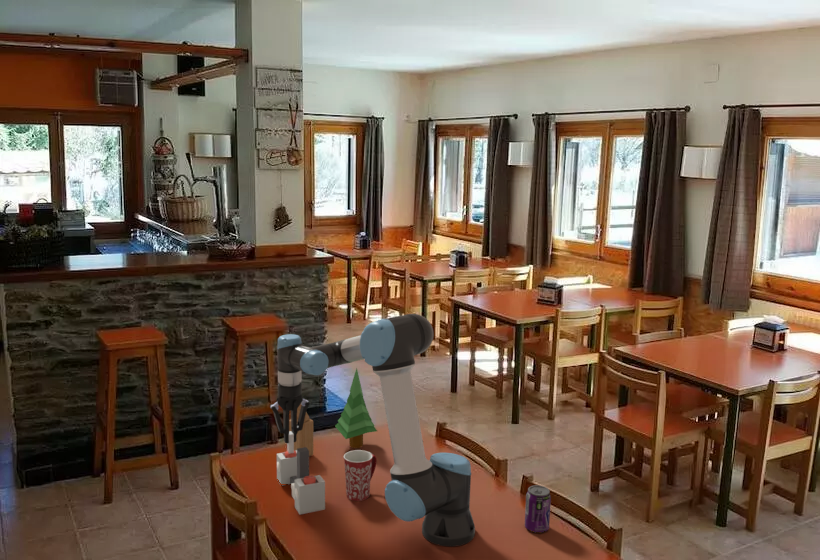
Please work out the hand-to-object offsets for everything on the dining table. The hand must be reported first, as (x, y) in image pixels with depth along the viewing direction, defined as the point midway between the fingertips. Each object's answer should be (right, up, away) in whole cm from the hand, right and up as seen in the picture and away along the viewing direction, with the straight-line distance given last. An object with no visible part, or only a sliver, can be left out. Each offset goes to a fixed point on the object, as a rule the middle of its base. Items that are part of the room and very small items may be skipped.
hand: (290, 451), depth 240 cm
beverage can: (+76, -17, -26) cm, 82 cm away
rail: (+4, -12, -7) cm, 14 cm away
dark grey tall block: (+6, -12, -10) cm, 17 cm away
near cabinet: (+9, -13, -16) cm, 23 cm away
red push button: (0, -3, +1) cm, 3 cm away
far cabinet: (0, -10, +2) cm, 10 cm away
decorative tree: (+19, -5, +30) cm, 36 cm away
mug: (+24, -12, -7) cm, 27 cm away
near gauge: (+9, -7, -18) cm, 21 cm away
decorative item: (0, -7, +22) cm, 23 cm away
